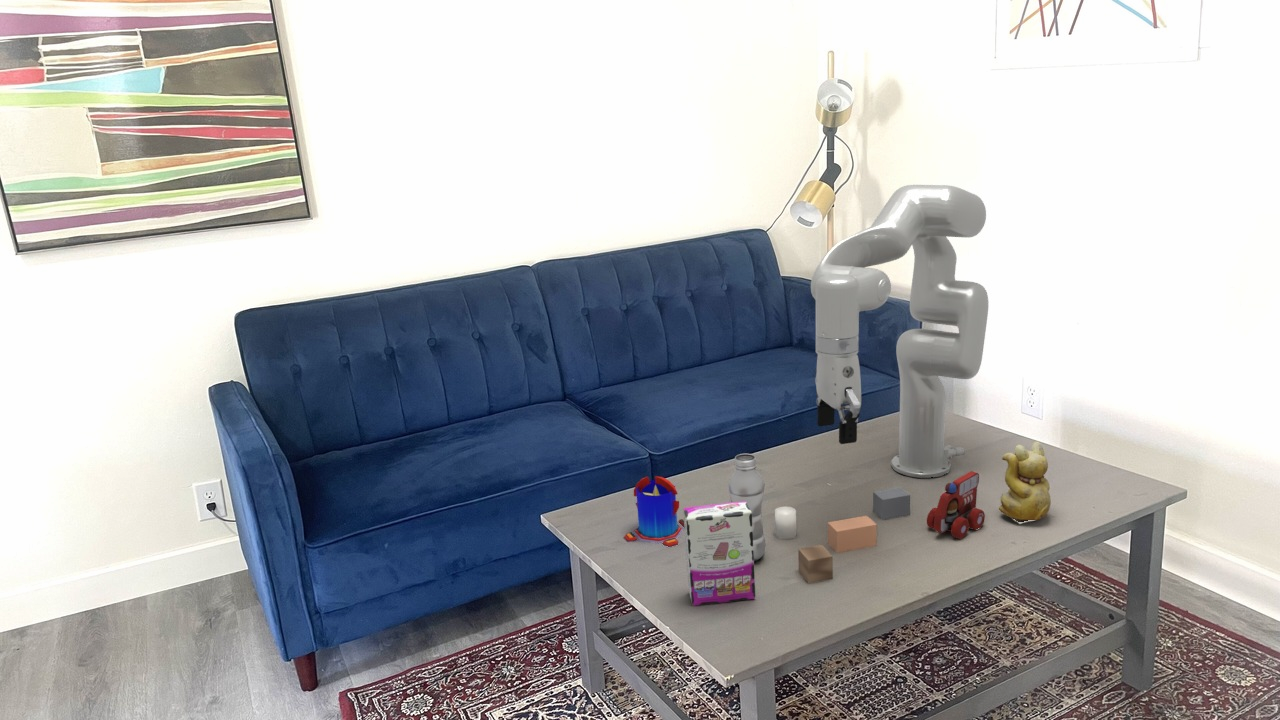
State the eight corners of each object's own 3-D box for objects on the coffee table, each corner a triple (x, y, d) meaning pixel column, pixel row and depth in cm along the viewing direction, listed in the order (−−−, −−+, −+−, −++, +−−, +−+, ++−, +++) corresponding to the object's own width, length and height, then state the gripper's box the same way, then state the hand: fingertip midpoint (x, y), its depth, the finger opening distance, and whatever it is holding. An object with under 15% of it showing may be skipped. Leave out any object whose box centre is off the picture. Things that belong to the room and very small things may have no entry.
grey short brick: (899, 507, 187) (900, 487, 185) (909, 515, 183) (910, 494, 182) (872, 512, 185) (873, 491, 184) (882, 520, 182) (882, 499, 180)
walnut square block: (821, 567, 166) (821, 544, 164) (832, 579, 161) (832, 556, 160) (798, 571, 165) (798, 548, 163) (808, 583, 160) (808, 560, 159)
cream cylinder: (791, 528, 181) (791, 505, 179) (799, 537, 177) (799, 513, 175) (772, 531, 180) (771, 508, 178) (780, 540, 176) (779, 517, 175)
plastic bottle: (728, 549, 174) (725, 451, 168) (764, 548, 173) (762, 449, 168) (730, 566, 168) (727, 465, 162) (768, 565, 167) (765, 463, 162)
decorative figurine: (1028, 504, 184) (1032, 434, 180) (1062, 520, 177) (1067, 447, 173) (992, 516, 180) (995, 444, 176) (1025, 532, 173) (1030, 458, 169)
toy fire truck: (919, 533, 176) (921, 483, 173) (958, 512, 183) (960, 464, 180) (951, 545, 170) (953, 494, 167) (989, 524, 177) (992, 474, 174)
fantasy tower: (619, 541, 180) (615, 485, 176) (641, 515, 190) (638, 461, 187) (676, 549, 175) (673, 491, 172) (695, 522, 186) (693, 467, 182)
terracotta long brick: (866, 536, 176) (866, 515, 174) (876, 546, 172) (876, 524, 171) (827, 543, 174) (827, 522, 173) (837, 553, 170) (837, 531, 169)
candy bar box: (749, 585, 161) (747, 499, 156) (756, 600, 156) (753, 512, 152) (686, 591, 160) (682, 505, 156) (691, 607, 155) (686, 518, 151)
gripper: (878, 353, 157) (876, 447, 161) (836, 330, 173) (836, 416, 178) (837, 358, 155) (836, 452, 160) (799, 334, 172) (799, 421, 176)
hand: (836, 433), depth 169 cm, fingers open, 9 cm apart
